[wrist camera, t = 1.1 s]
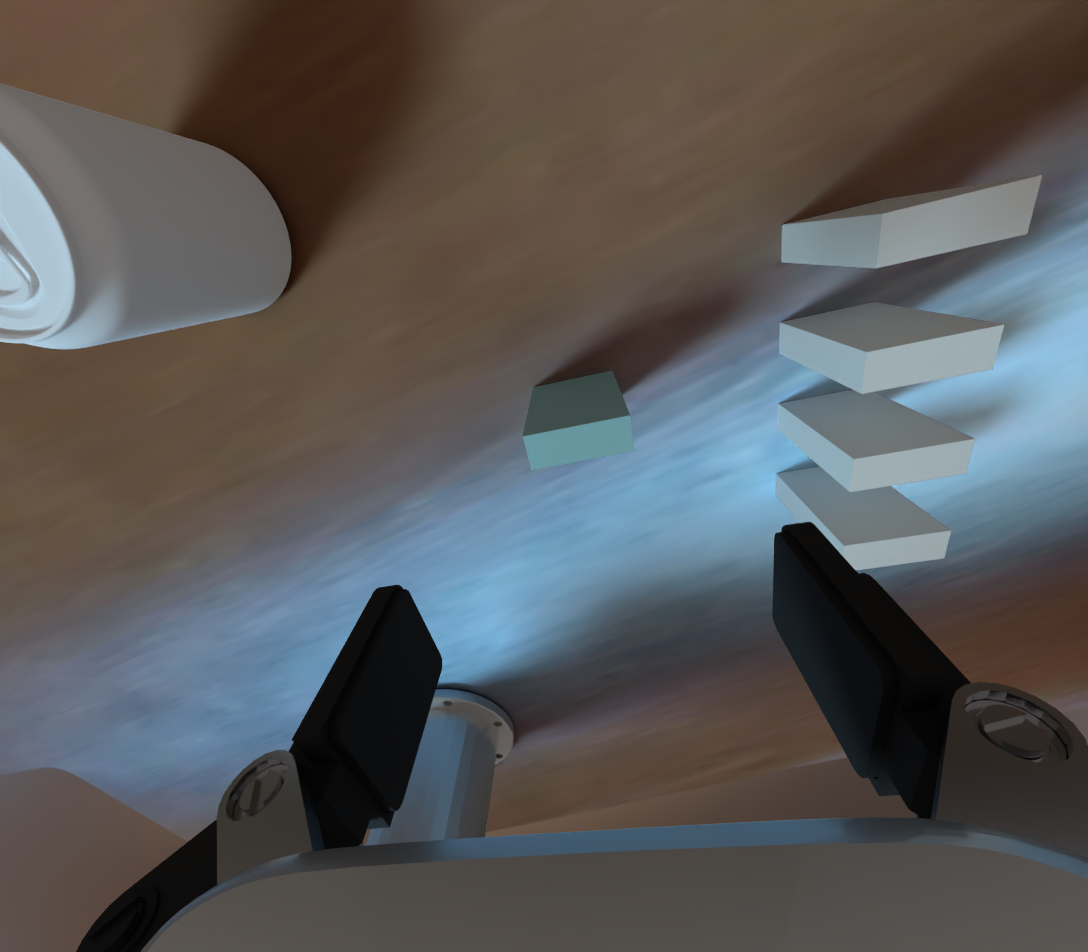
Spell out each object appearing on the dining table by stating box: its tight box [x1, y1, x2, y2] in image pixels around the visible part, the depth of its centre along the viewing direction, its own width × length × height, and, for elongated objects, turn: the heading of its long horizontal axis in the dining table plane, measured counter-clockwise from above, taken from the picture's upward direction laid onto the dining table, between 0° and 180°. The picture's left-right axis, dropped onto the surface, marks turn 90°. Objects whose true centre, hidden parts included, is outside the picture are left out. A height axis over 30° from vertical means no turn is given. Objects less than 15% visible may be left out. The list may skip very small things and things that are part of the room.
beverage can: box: [0, 83, 291, 349], centre depth 18 cm, size 8×8×12 cm
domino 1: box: [523, 371, 635, 470], centre depth 23 cm, size 2×5×8 cm, turn 103°
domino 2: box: [781, 175, 1042, 268], centre depth 19 cm, size 2×5×8 cm, turn 103°
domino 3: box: [779, 302, 1004, 394], centre depth 21 cm, size 2×5×8 cm, turn 103°
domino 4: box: [777, 389, 975, 492], centre depth 23 cm, size 2×5×8 cm, turn 103°
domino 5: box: [776, 466, 951, 570], centre depth 26 cm, size 2×5×8 cm, turn 103°
